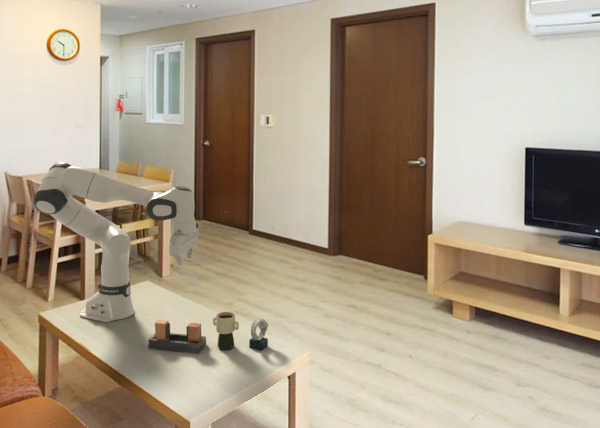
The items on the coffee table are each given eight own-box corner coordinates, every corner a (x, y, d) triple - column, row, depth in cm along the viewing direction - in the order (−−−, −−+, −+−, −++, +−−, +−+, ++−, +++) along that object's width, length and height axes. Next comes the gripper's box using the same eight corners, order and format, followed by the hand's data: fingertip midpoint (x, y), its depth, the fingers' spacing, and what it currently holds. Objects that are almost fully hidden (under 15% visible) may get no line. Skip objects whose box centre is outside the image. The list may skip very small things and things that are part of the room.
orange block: (155, 342, 193) (154, 322, 191) (159, 338, 196) (158, 319, 194) (167, 343, 192) (166, 324, 191) (170, 340, 195) (170, 320, 194)
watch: (270, 344, 197) (270, 317, 195) (259, 352, 190) (259, 325, 188) (258, 340, 199) (258, 314, 197) (246, 349, 192) (246, 322, 190)
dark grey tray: (148, 348, 191) (147, 325, 189) (157, 339, 199) (156, 316, 197) (198, 354, 188) (198, 330, 186) (206, 344, 196) (205, 321, 194)
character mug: (243, 345, 195) (243, 314, 192) (233, 353, 189) (233, 321, 186) (218, 340, 199) (218, 309, 196) (208, 348, 193) (208, 316, 190)
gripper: (180, 234, 191) (181, 269, 194) (200, 222, 210) (201, 254, 213) (164, 233, 192) (165, 268, 195) (186, 221, 212) (187, 253, 214)
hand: (184, 261), depth 204 cm, fingers open, 8 cm apart
